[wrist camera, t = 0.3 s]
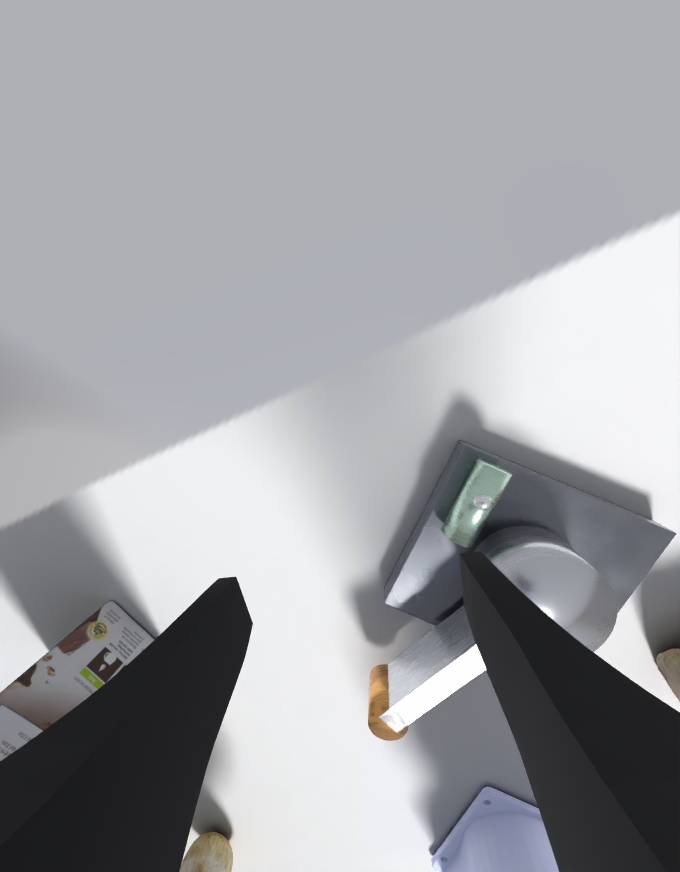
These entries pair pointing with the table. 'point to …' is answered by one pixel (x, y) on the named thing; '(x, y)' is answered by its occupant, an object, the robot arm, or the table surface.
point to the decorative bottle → (670, 668)
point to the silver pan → (453, 640)
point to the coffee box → (68, 675)
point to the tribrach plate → (507, 507)
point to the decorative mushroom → (208, 854)
